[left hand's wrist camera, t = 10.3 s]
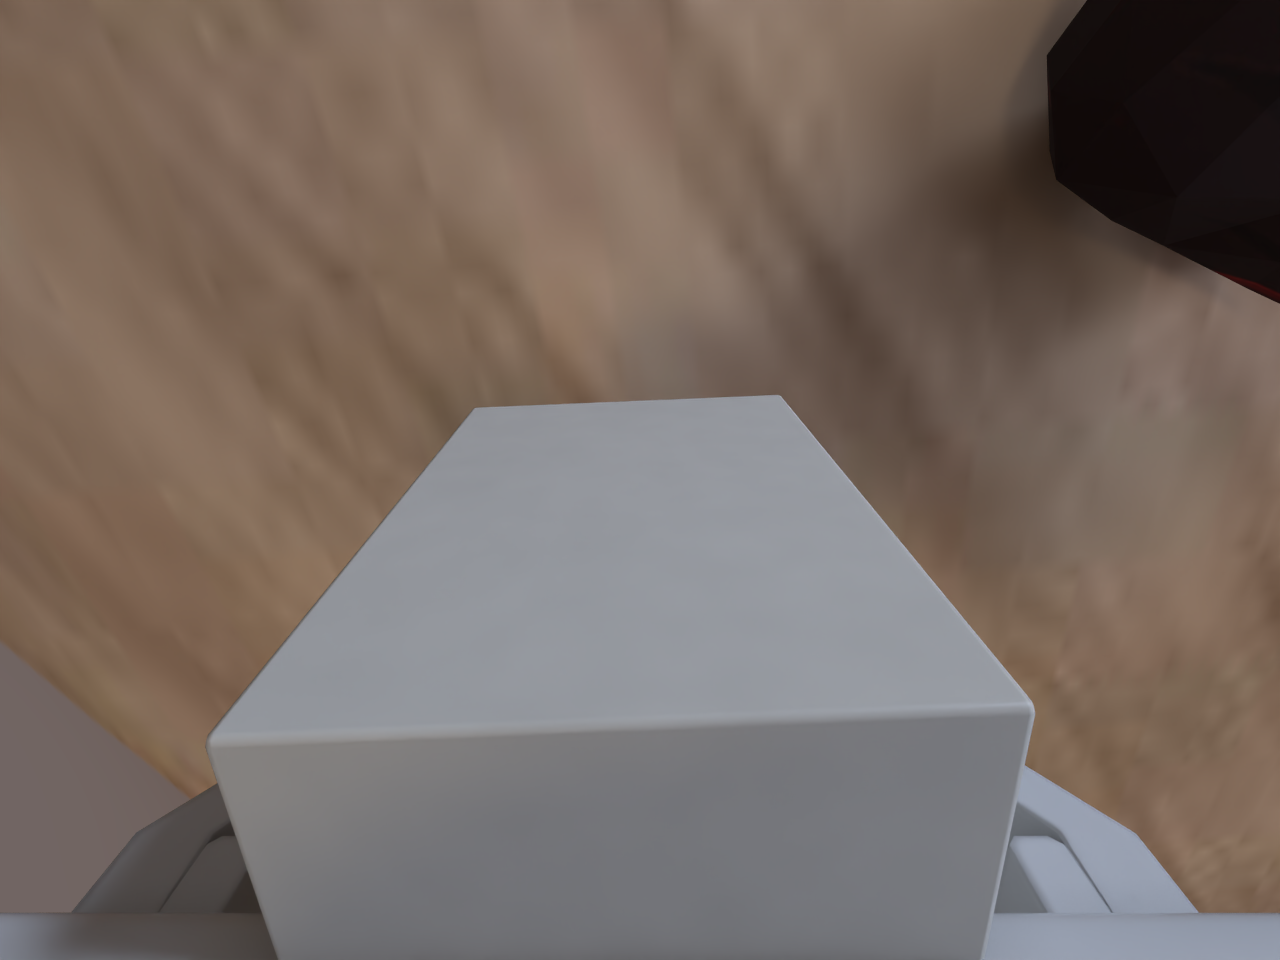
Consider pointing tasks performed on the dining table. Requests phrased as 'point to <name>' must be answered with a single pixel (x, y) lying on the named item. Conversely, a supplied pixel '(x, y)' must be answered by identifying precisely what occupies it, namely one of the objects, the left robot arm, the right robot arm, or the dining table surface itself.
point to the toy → (1176, 126)
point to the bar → (628, 712)
